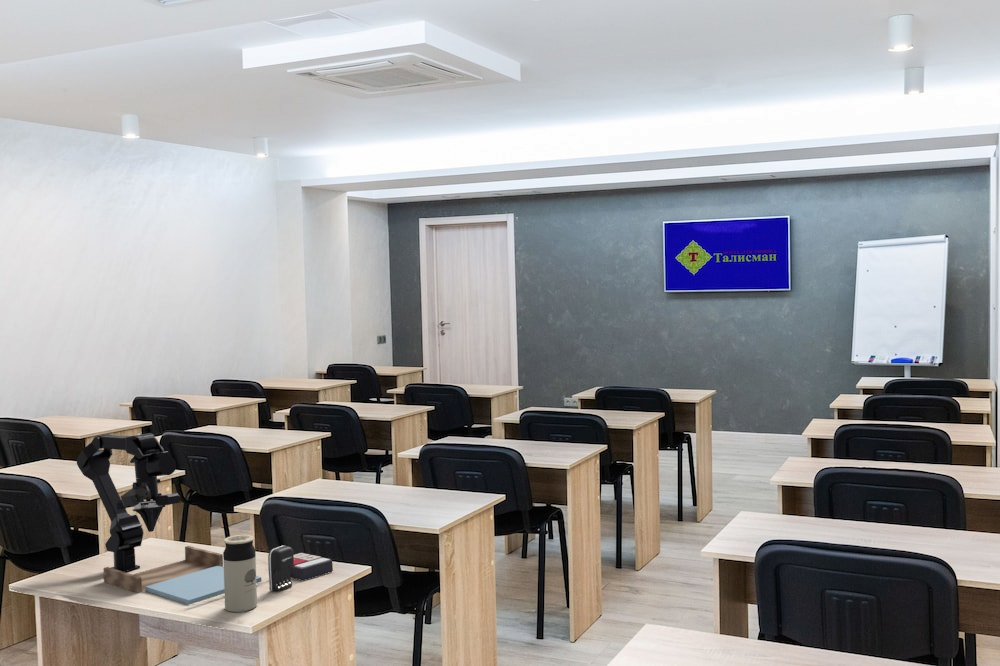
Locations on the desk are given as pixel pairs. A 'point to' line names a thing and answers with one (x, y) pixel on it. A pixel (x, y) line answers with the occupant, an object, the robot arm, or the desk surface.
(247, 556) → the travel mug
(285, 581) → the battery charger
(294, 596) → the desk surface
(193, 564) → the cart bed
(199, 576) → the panel
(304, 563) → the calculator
